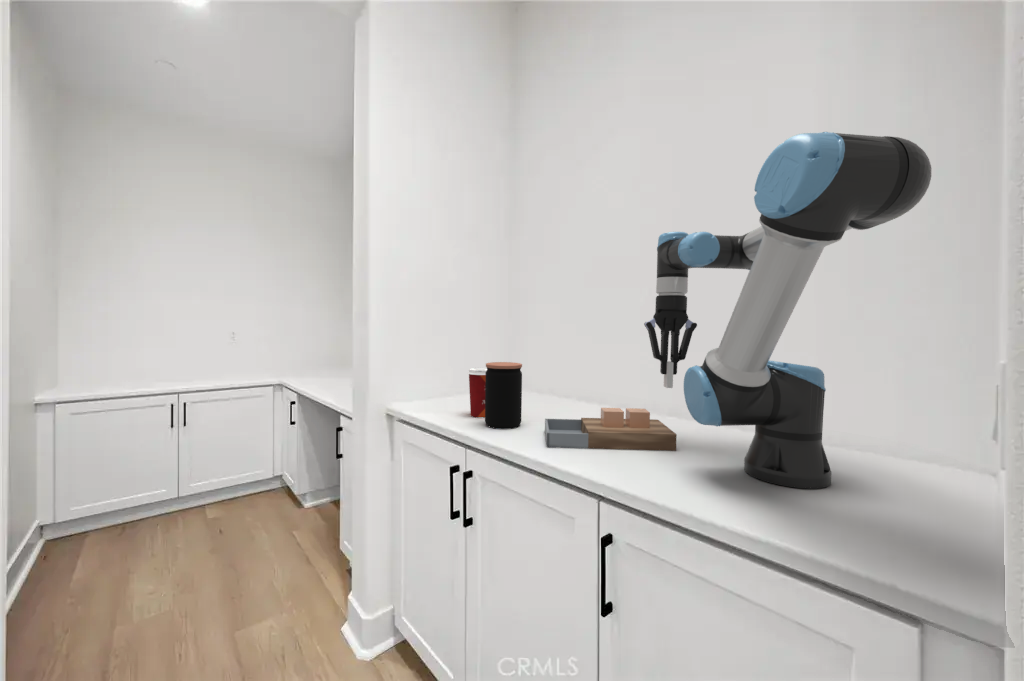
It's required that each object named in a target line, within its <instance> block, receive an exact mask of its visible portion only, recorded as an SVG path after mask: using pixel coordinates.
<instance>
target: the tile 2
mask: <svg viewBox="0 0 1024 681" xmlns="http://www.w3.org/2000/svg"><path fill="white" fill-rule="evenodd" d="M625 419H626V420H625V423H626V424H627V426H628V427H629V428H650V419H651V412H650V411H649V410H647V409H646V408H634V407H633V408H630V407H625Z"/></svg>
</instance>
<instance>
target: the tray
mask: <svg viewBox="0 0 1024 681" xmlns="http://www.w3.org/2000/svg"><path fill="white" fill-rule="evenodd" d="M544 436H545V444H546V447H547V448H556V447H564V448H563V449H589V448H588V433H582V431H581V418H579V419H577V418H576V419H573V418H572V419H570V418H544Z"/></svg>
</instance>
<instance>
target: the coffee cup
mask: <svg viewBox="0 0 1024 681" xmlns="http://www.w3.org/2000/svg"><path fill="white" fill-rule="evenodd" d="M486 371H487V367H475V368H474V367H472V368H469V370H468V372H467V374H468V385H469V388H468V389H469V404H470V406H469V408H470V417H472V416H473V417H472V418H476V417H485V380H486Z"/></svg>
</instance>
